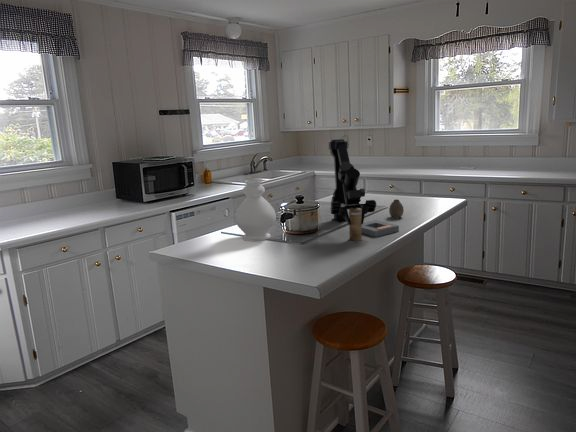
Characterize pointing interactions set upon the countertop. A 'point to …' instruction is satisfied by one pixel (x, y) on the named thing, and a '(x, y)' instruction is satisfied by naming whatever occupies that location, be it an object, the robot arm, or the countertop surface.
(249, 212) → the decorative vase
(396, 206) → the vase
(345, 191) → the robot arm
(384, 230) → the socket block
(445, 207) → the countertop surface
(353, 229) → the walnut peg
